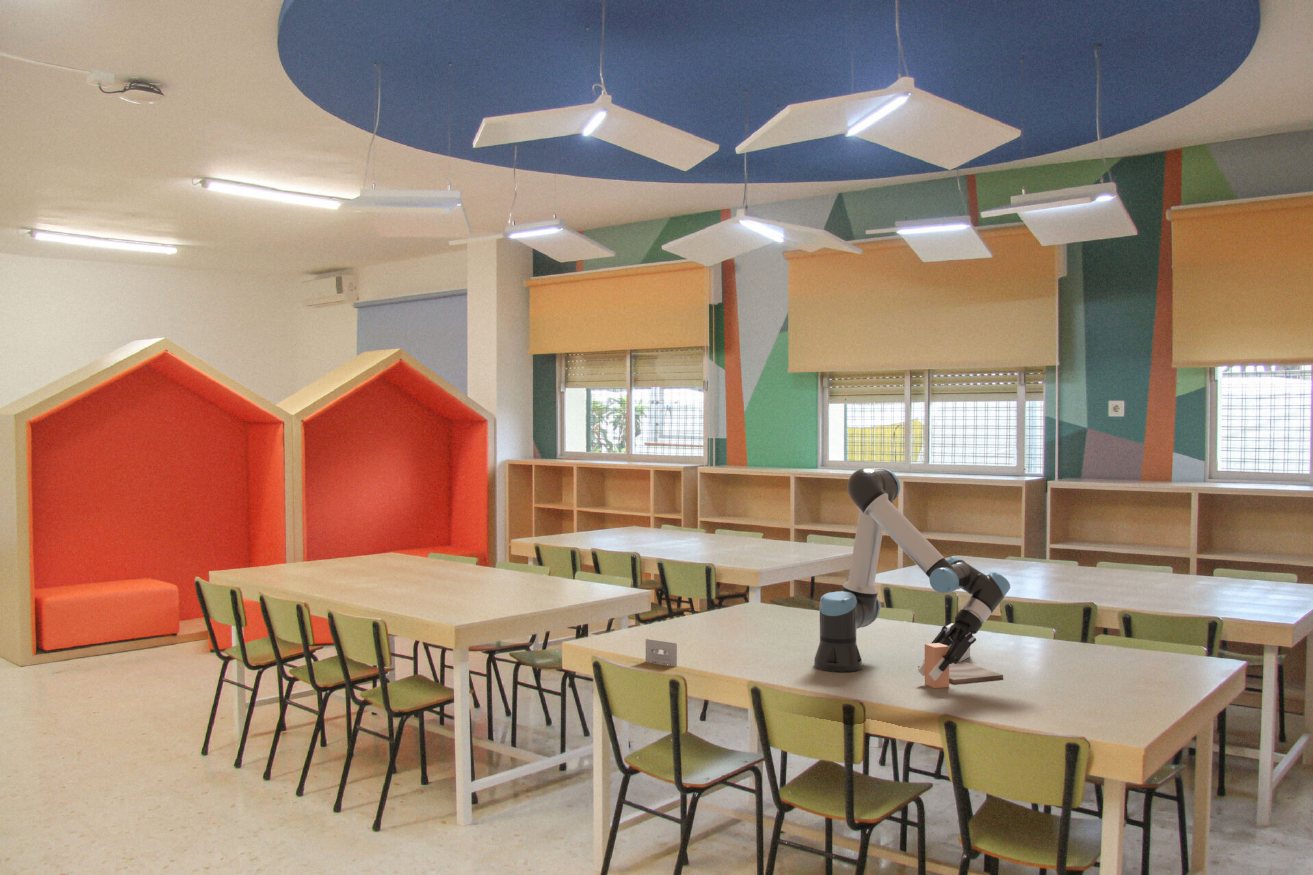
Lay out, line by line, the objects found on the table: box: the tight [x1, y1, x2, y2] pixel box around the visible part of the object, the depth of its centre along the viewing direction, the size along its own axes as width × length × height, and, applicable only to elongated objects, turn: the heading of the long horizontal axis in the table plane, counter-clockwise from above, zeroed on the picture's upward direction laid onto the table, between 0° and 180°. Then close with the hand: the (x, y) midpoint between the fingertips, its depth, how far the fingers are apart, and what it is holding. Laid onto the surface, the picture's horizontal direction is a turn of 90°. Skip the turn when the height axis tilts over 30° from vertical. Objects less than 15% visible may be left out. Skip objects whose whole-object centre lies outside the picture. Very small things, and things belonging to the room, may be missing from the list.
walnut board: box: [917, 661, 1004, 685], centre depth 286 cm, size 18×18×1 cm
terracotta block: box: [924, 642, 950, 689], centre depth 272 cm, size 5×5×12 cm
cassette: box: [645, 638, 678, 668], centre depth 299 cm, size 12×2×8 cm, turn 55°
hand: (926, 675), depth 271 cm, fingers closed on terracotta block, 5 cm apart
